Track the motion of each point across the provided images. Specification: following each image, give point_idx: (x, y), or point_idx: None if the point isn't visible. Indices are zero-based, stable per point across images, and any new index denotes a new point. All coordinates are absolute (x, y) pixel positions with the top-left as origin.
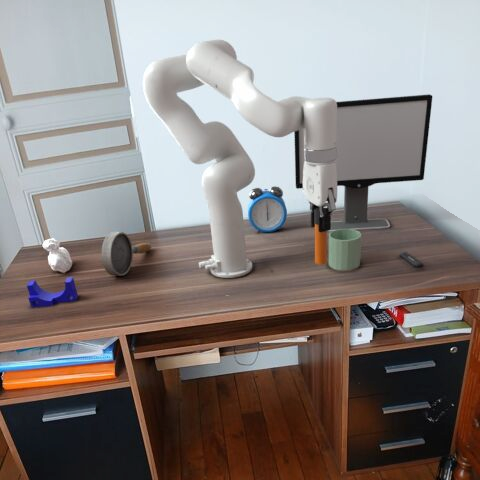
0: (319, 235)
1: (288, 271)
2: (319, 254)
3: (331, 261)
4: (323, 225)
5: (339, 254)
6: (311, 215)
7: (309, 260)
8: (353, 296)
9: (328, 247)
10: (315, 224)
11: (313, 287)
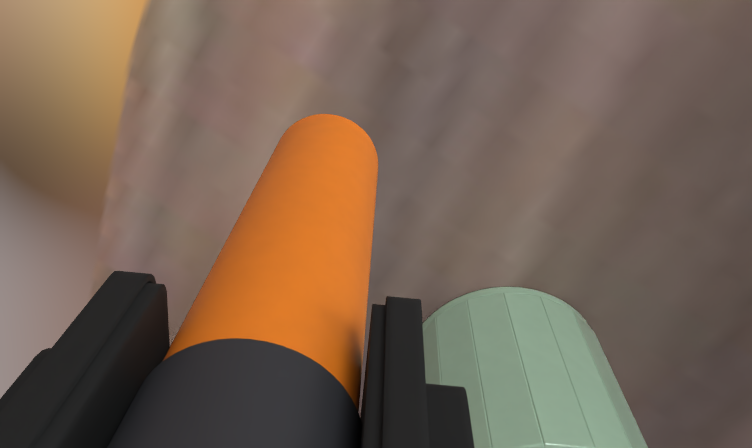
0: (215, 263)
1: (694, 30)
2: (271, 160)
3: (514, 316)
4: (19, 382)
5: (456, 379)
6: (399, 441)
7: (722, 251)
8: (112, 185)
9: (598, 384)
10: (254, 335)
11: (350, 44)
